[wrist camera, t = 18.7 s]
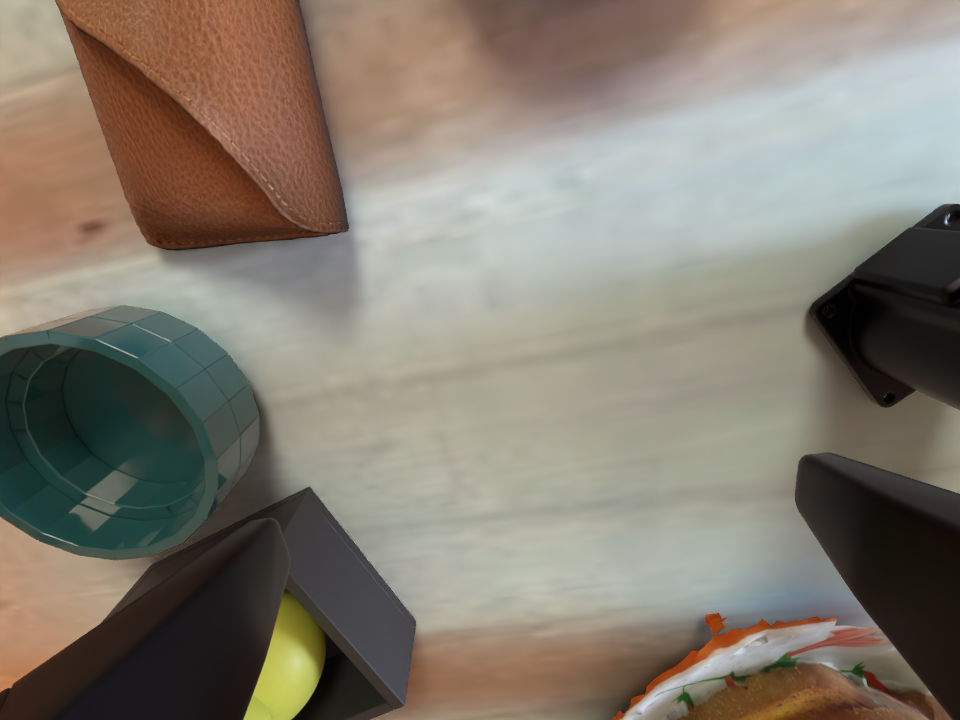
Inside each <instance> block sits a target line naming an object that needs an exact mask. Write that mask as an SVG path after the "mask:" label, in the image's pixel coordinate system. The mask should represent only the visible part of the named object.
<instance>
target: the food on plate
mask: <svg viewBox="0 0 960 720" xmlns="http://www.w3.org/2000/svg"><path fill="white" fill-rule="evenodd" d="M726 618H727V617H726ZM726 618H721V616H720V615H719V613H717V614H708V615H706V625H707V626H709V627H710V628H711V631H712V634H713V638H712V640H711V641H709V642H708V643H707V644H706V645H705V646H704V648H702V649H701V650H699V651H693V650H692V651H691V652H690V653H689V654H688V656H687V657H686V658H685V659H684V660H683V661H682V662H680V663H679V664H678V665H677V666H675V667H674V668H672V669H670V670H667V671H665V672H664V673H662V674H661V675H659V676H658V677H656V678H655V679H654V680H653V681H652V682H651V683H650V684H649V685H648V686H647V688H646V693H645V694H643V695H639V696H636V697H634V698H632V699H631V704H630V708H629V709H628V710H627V711H626V712H625V713H624V714H623V713H622V712H621V711H619V712H618V713H617V714H616V716H615V717H614V718H613V719H612V720H952V719H951V718H950V717H949V715H948V714H947V713H946V711H945V710H944V709H943V708H942V706H941V705H940V704H939V703H938V701H937V700H936V699H935V698H934V696H933V695H932V694H931V693H930V691H929V690H928V689H927V687H926V686H925V685H924V684H923V682H922V681H921V680H920V679H919V677H918V676H917V675H916V674H915V672H914V671H913V670H912V668H911V667H910V666H909V665H908V663H907V662H906V661H905V660H904V658H903V657H902V656H901V655H900V653H899V652H898V651H897V649H896V648H895V647H894V646H893V644H892V643H891V642H890V641H889V639H888V638H887V637H886V636H885V634H884V633H883V632H882V630H881V629H880V628H874V627H852V626H834V625H835V623H836V621H837V619H838V618H827V619H823V620H822V619H820V618H818V617H813V618H809V619H806V620H801V621H796V622H786V623H783V622H779V621H777V622H776V623H775V624H774V625H773V626H772V627H771V626H770V625H769V624H767V623H766V622H765V621H764V620H763V619H762V620H761V621H760V622H759V624H758V625H756V626H753V627H750V628H747V629H744V630H731V631H730V632H728V633H726V634H724V635H719V636H714V635H715V634H717V633H718V632H719V631H720V630H722V629H724V628H725V627H724V625H723V624H722V622H723V621H724V620H725V619H726Z"/></svg>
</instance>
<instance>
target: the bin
mask: <svg viewBox="0 0 960 720" xmlns="http://www.w3.org/2000/svg"><path fill="white" fill-rule="evenodd" d="M267 518H273V519H275V520H277V522H278V523H279V525H280V528H281V531H282V534H283V537H284V539H285V542H286V545H287V548H288V551H289V555H290V570H289V574H288V578H287V581H286V585H285V588H286V589H287V590H288V591H289V592H290V593H291V594H292V595H293V597H294V598H295V599H296V600H297V601H298V602H299V603H300V604H301V606H302V607H303V608H304V609H305V610H306V611H307V612H308V613H309V615H310V616H311V617H312V618H313V619H314V620H315V621H316V622H317V624H318V625H319V626H320V627H321V628H322V629H323V630H324V632H325V638H326V655H325V662H324V667H323V671H322V674H321V677H320V679H319V682H318V684H317V687H316V689H315V690H314V692H313V694H312V696H311V697H310V699H309V700H308V702H307V703H306V704H305V706H304V707H303V708H302V709H301V710H300V712H299V713H298V714H297V715H296V716H295V717H294V718H293V719H291V720H370V719H372V718H375V717H377V716H380V715H382V714H385V713H387V712H390V711H392V710H393V709H398V708H400V707H403V706H404V705H405V699H406V692H407V684H408V677H409V670H410V663H411V655H412V648H413V641H414V633H415V631H414V630H415V626H416V621H415V619H414V618H413V617H412V616H411V614H410V613H409V612H408V611H407V609H406V608H405V607H404V606H403V604H402V603H401V602H400V600H399V599H398V598H397V597H396V595H395V594H394V593H393V592H392V590H391V589H390V588H389V587H388V585H387V584H386V583H385V582H384V580H383V579H382V578H381V576H380V575H379V574H378V573H377V571H376V570H375V569H374V568H373V566H372V565H371V564H370V563H369V561H368V560H367V559H366V558H365V556H364V555H363V554H362V552H361V551H360V550H359V549H358V547H357V546H356V545H355V544H354V542H353V541H352V540H351V539H350V537H349V536H348V535H347V534H346V532H345V531H344V530H343V528H342V527H341V526H340V525H339V523H338V522H337V521H336V520H335V518H334V517H333V516H332V515H331V513H330V512H329V511H328V510H327V508H326V507H325V506H324V504H323V503H322V502H321V501H320V499H319V498H318V497H317V496H316V494H315V493H314V492H313V491H312V489H311V488H310V487H308V488H306V489H304V490H302V491H300V492H298V493H296V494H294V495H292V496H290V497H288V498H286V499H284V500H282V501H280V502H278V503H276V504H274V505H272V506H270V507H268V508H266V509H264V510H261V511H259V512H257V513H255V514H253V515H251V516H249V517H247V518H245V519H243V520H241V521H239V522H237V523H235V524H233V525H231V526H229V527H227V528H225V529H223V530H221V531H219V532H217V533H215V534H213V535H211V536H209V537H207V538H205V539H203V540H201V541H199V542H197V543H195V544H193V545H191V546H189V547H187V548H185V549H183V550H181V551H179V552H177V553H175V554H173V555H171V556H169V557H167V558H165V559H163V560H161V561H159V562H157V563H155V564H153V565H151V566H150V567H149V568H148V569H147V571H146V572H145V573H144V574H143V575H142V576H141V578H140V579H139V580H138V581H137V582H136V583H135V584H134V586H133V587H132V588H131V589H130V590H129V591H128V593H127V594H126V595H125V596H124V597H123V598H122V600H121V601H120V602H119V603H118V604H117V605H116V606H115V608H114V609H113V610H112V611H111V612H110V613H109V615H108V616H107V617H106V618H105V619H104V620H103V622H104V621H105V620H107V619H108V618H110V617H111V616H113V615H114V614H115V613H117V612H118V611H120V610H121V609H123V608H124V607H126V606H127V605H129V604H130V603H131V602H133V601H134V600H136V599H137V598H139V597H140V596H142V595H143V594H145V593H146V592H147V591H149V590H150V589H152V588H153V587H155V586H156V585H158V584H159V583H161V582H162V581H163V580H165V579H166V578H168V577H169V576H171V575H172V574H174V573H175V572H177V571H178V570H179V569H181V568H182V567H184V566H185V565H187V564H188V563H190V562H191V561H192V560H194V559H195V558H197V557H198V556H200V555H201V554H203V553H204V552H206V551H207V550H208V549H210V548H211V547H213V546H214V545H216V544H217V543H219V542H220V541H222V540H223V539H224V538H226V537H227V536H229V535H230V534H232V533H233V532H235V531H236V530H238V529H239V528H240V527H242V526H243V525H245V524H246V523H248V522H249V521H252V520H259V519H267Z"/></svg>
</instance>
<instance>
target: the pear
mask: <svg viewBox="0 0 960 720" xmlns="http://www.w3.org/2000/svg"><path fill="white" fill-rule="evenodd" d="M325 655H326V638H325V632H324V630H323V629H322V628H321V627H320V626H319V625H318V624H317V622H316V621H315V620H314V619H313V618H312V617H311V616H310V615H309V613H308V612H307V611H306V610H305V609H304V608H303V607H302V606H301V604H300V603H299V602H298V601H297V600H296V599H295V598H294V597H293V595H292V594H291V593H290V592H289V591H288V590H287V589H286V588H285V589H284V593H283V597H282V600H281V604H280V608H279V612H278V616H277V619H276V623H275V627H274V631H273V635H272V638H271V642H270V646H269V649H268V653H267V656H266V659H265V662H264V665H263V668H262V671H261V674H260V676H259V679H258V682H257V684H256V687H255V690H254V693H253V695H252V698H251V701H250V703H249V706H248V709H247V712H246V714H245V717H244V720H291V719H293V718H294V717H295V716H296V715H297V714H298V713H299V712H300V710H301V709H302V708H303V707H304V706H305V704H306V703H307V702H308V700H309V699H310V697H311V696H312V694H313V692H314V690H315V689H316V687H317V684H318V682H319V679H320V677H321V674H322V671H323V667H324V662H325Z"/></svg>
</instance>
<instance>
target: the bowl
mask: <svg viewBox="0 0 960 720" xmlns="http://www.w3.org/2000/svg"><path fill="white" fill-rule="evenodd" d="M227 354H228V353H227V352H226V351H225V350H223V349H222V348H221V347H220V346H219V345H217V344H216V343H215V342H214V341H213V340H211V339H210V338H209V337H208V336H207V335H205V334H204V333H203V332H202V331H201V330H198V328H196V327H194V326H192V325H190V324H187V323H185V322H183V321H181V320H179V319H177V318H175V317H172V316H170V315H168V314H166V313H164V312H161V311H155V310H149V309H143V308H137V307H131V306H114V307H107V308H99V309H92V310H87V311H84V312H81V313H77V314H74V315H71V316H68V317H64V318H61V319H58V320H55V321H52V322H48V323H45V324H42V325H39V326H35V327H32V328H29V329H26V330H22V331H19V332H16V333H13V334H10V335H6V336H3V337H1V338H0V517H2V518H3V519H4V520H6V521H7V522H9V523H11V524H12V525H14V526H15V527H17V528H19V529H20V530H22V531H23V532H25V533H27V534H28V535H30V536H31V537H33V538H35V539H36V540H39V541H40V542H43V543H46V544H48V545H51V546H54V547H57V548H59V549H62V550H65V551H67V552H70V553H73V554H76V555H80V556H87V557H95V558H102V559H110V560H123V559H132V558H141V557H149V556H154V555H156V554H158V553H161V552H163V551H165V550H168V549H170V548H172V547H174V546H177V545H179V544H181V543H183V542H185V541H186V540H187V539H188V538H189V537H190V536H191V535H192V534H193V533H194V532H195V531H196V530H197V529H198V528H199V527H200V526H201V525H202V524H203V523H204V522H205V521H206V520H207V519H208V518H209V516H210V515H211V514H212V513H213V511H214V510H215V509H216V508H217V507H218V505H219V504H220V503H221V502H222V500H223V499H224V498H225V497H226V496H227V494H228V493H229V492H230V491H231V489H232V488H233V487H234V486H235V485H236V483H237V482H238V481H239V480H240V478H241V477H242V476H243V475H244V474H245V472H246V471H247V469H248V468H249V465H250V463H251V461H252V458H253V456H254V454H255V451H256V449H257V447H258V444H259V421H260V415H259V412H258V409H257V406H256V402H255V399H254V396H253V393H252V390H251V387H250V385H249V382H248V381H247V379H246V378H245V376H244V375H243V374H242V372H241V371H240V369H239V368H238V366H237V365H236V364H235V362H234V361H233V359H232V358H231V357H230V355H229V354H228V355H227Z"/></svg>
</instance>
